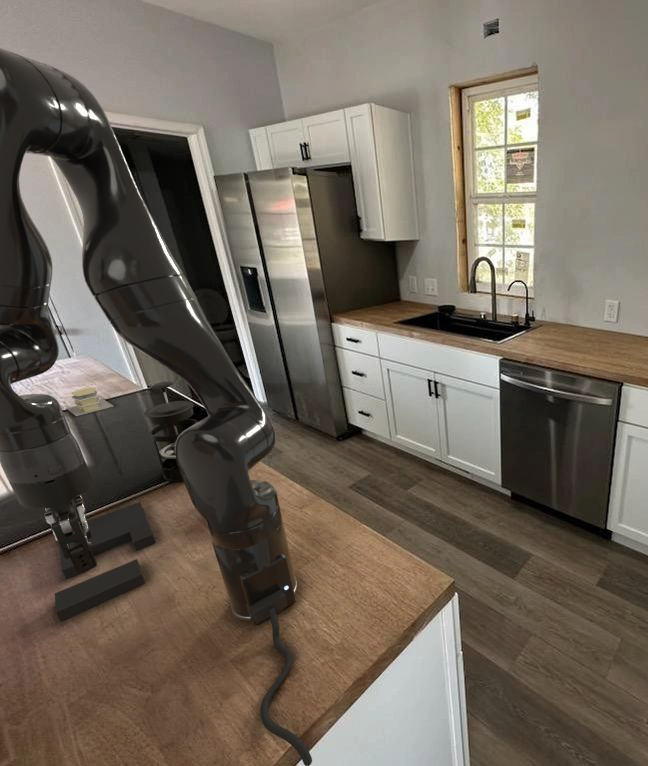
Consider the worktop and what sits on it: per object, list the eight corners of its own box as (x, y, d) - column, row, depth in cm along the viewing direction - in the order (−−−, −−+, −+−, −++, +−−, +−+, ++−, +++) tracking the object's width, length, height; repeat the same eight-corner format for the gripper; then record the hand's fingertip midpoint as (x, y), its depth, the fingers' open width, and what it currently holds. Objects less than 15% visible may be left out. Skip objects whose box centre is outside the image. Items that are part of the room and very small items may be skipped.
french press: (157, 471, 100) (128, 383, 91) (202, 455, 107) (179, 372, 98) (173, 490, 93) (143, 397, 85) (220, 472, 100) (196, 384, 92)
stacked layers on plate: (114, 406, 133) (108, 390, 131) (76, 416, 126) (69, 399, 124) (103, 399, 138) (97, 384, 136) (66, 408, 131) (59, 392, 129)
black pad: (140, 567, 73) (136, 558, 72) (145, 583, 70) (141, 574, 69) (59, 602, 66) (54, 593, 65) (60, 622, 63) (55, 612, 62)
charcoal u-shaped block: (156, 542, 78) (152, 534, 77) (66, 579, 70) (61, 570, 69) (143, 509, 87) (140, 501, 86) (62, 538, 79) (58, 530, 78)
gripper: (8, 456, 61) (49, 542, 67) (5, 500, 52) (52, 595, 58) (79, 439, 66) (111, 521, 72) (87, 476, 57) (123, 565, 63)
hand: (85, 553), depth 65 cm, fingers open, 8 cm apart
